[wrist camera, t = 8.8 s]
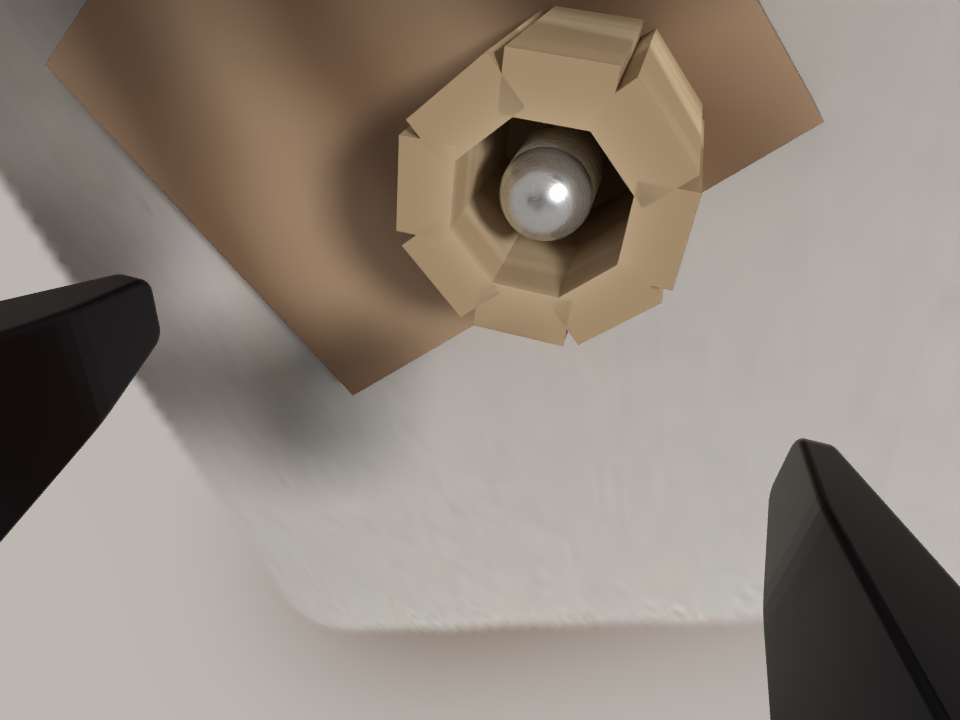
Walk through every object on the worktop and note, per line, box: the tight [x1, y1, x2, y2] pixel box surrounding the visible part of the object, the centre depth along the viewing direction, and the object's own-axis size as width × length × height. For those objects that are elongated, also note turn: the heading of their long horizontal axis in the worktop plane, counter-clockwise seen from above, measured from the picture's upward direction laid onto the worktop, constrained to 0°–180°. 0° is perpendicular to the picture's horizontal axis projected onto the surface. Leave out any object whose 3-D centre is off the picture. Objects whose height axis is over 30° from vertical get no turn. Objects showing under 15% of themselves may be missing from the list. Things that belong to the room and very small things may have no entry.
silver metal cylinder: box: [499, 122, 609, 241], centre depth 16 cm, size 2×2×5 cm
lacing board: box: [45, 0, 824, 395], centre depth 19 cm, size 17×14×2 cm
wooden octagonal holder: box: [396, 6, 704, 346], centre depth 16 cm, size 6×6×5 cm
